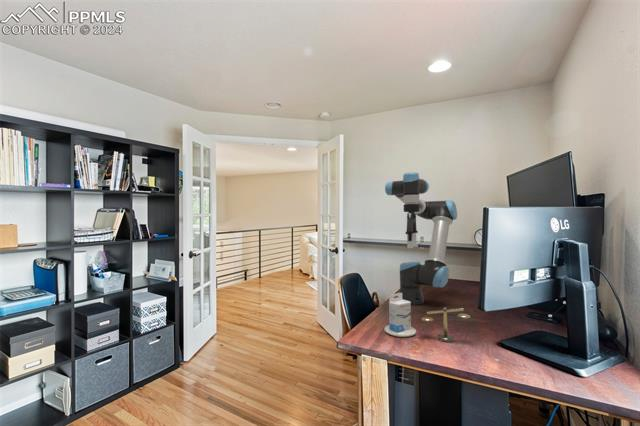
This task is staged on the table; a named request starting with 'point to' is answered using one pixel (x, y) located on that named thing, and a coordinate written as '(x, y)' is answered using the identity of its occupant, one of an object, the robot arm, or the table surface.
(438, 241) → the robot arm
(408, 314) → the ink box
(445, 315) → the balance
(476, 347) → the table surface
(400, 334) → the dish
